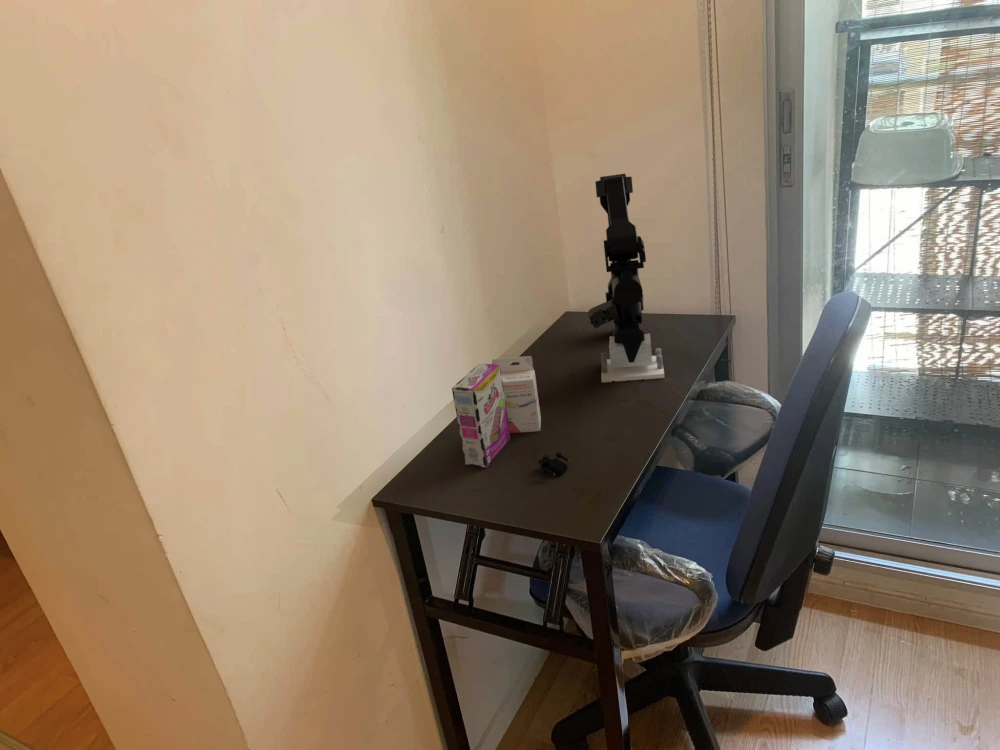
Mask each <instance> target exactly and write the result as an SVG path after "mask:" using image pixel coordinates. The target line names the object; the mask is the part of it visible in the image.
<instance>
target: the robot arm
mask: <svg viewBox="0 0 1000 750" xmlns="http://www.w3.org/2000/svg"><path fill="white" fill-rule="evenodd" d="M594 184H595V193H596V198H599V203H600V206H601V207H602V208H603V210H604V211H605V213H606V215H607V222H608V227H607V228H606V229H605V236H606V239H605V240H603V249H604V251H603V252H604V260H605V267H606V268H605V269H606V273H610V279H609V281H608V283H607V292H605V302H602V303H600V304H598V305H596V306H593V307H591V308H590V309H588V313H587V317H588V319H589V320H590V325H592V327H593V328H594V329H597V328H600V327H601V326H603V325H605V324H607V323H609V322H611V321H612V322H613V329H612V336H614V339H615V343H617V344H620V343H622V344H623V346H624V349H625V352H626V355H627V358H628V361H629V363H633V362H634V361H635V358H636V356H637V353H638V350H639V348H640V345H641V343H642V341H644V340H645V336H644V334H645V327H644V325H642V323H643V317H642V315H643V314H642V313H643V312H642V311H644V294H643V293H644V292H643V291H644V290H643V286H642V284H641V279H640V278H639V269H644V268H645V264H644V263H646V261H647V260H646V259H647V257H646V251H645V243H644V242H645V241H644V240H643V239H642V237H641V236H639V235H638V232H637V228H636V227H637V226H636V225H635V224H633V223H632V222H631V221H630V218H629V211H628V210H629V209H628V206H629V204H630V201H631V197H630V196H631V194H633V192H634V190H633V177H632V176H627V174H626V173H619V174H612V175H604V176H603V175H602V176H599V180H596V181H595V183H594ZM638 258H639V259H638ZM609 262H610V264H609Z"/></svg>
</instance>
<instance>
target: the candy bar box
mask: <svg viewBox="0 0 1000 750" xmlns="http://www.w3.org/2000/svg"><path fill="white" fill-rule="evenodd" d="M451 392H452V397H453V405H454V409H455V413H456V415H455V416H456V421H457V424H458V430H459V437H460V441H461V448H462V453H463V458H464V464H465V465H466V466H470V467H477V468H485V469H487V468H488V467H489V466H490V465H491V463H492V462H493V461H494V460H495V458H496V457H498V455H499V453H500V452H501V451H502V450H503V449H504V448H505V447H506V445H507V444H508V443H509V442H510V440H511V433H510V430H509V423H508V416H507V409H506V403H505V396H504V389H503V382H502V376H501V368H500V365H494V364H492V363H488V364H487V363H478V364H477V365H475V367H474V368H472V369H471V370H470V371H469V372H468V373H467V374H465V376H464V377H462V378H461V379H460V380H459V381H458V382H457V383H456V384H454V385H453V386H452V387H451Z"/></svg>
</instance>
